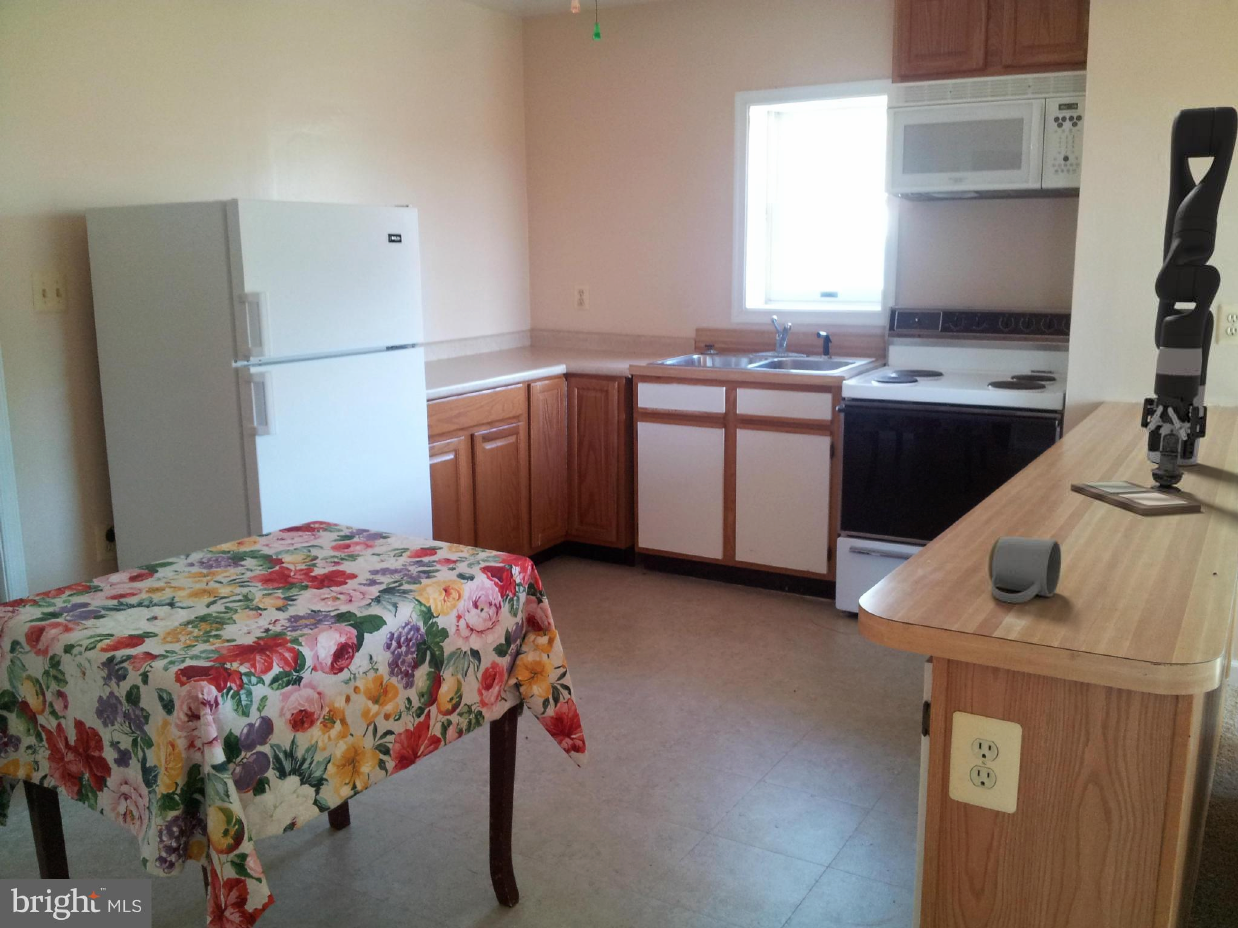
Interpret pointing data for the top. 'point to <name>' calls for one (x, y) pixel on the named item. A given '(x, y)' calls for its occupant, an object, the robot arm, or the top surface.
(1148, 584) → the top surface
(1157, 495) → the board
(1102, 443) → the top surface
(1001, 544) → the ceramic mug
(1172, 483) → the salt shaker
